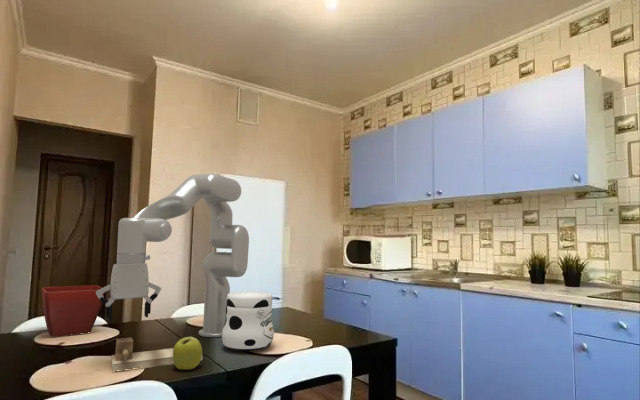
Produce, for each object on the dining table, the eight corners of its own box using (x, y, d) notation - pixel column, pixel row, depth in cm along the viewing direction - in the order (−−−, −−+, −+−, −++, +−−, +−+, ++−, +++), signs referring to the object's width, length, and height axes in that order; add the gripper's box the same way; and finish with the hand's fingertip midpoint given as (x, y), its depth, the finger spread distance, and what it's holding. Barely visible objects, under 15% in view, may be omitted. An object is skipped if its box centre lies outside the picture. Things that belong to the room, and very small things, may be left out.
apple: (192, 357, 116) (198, 326, 115) (203, 372, 110) (209, 339, 109) (165, 362, 111) (171, 330, 110) (175, 378, 105) (181, 344, 104)
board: (194, 352, 126) (194, 345, 126) (202, 360, 117) (202, 353, 117) (110, 362, 113) (111, 355, 114) (112, 372, 105) (113, 364, 105)
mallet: (130, 354, 115) (131, 337, 115) (133, 363, 106) (134, 344, 107) (115, 356, 113) (116, 338, 113) (117, 365, 104) (118, 346, 105)
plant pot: (93, 325, 163) (96, 284, 164) (102, 334, 148) (105, 289, 150) (37, 331, 151) (41, 287, 153) (40, 341, 136) (45, 292, 138)
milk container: (281, 351, 128) (282, 295, 130) (229, 358, 120) (232, 298, 122) (262, 339, 143) (264, 290, 145) (215, 344, 135) (218, 292, 137)
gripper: (160, 257, 123) (158, 312, 121) (97, 259, 114) (94, 319, 112) (164, 259, 116) (161, 317, 115) (97, 261, 107) (94, 324, 106)
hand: (128, 318), depth 114 cm, fingers open, 9 cm apart
